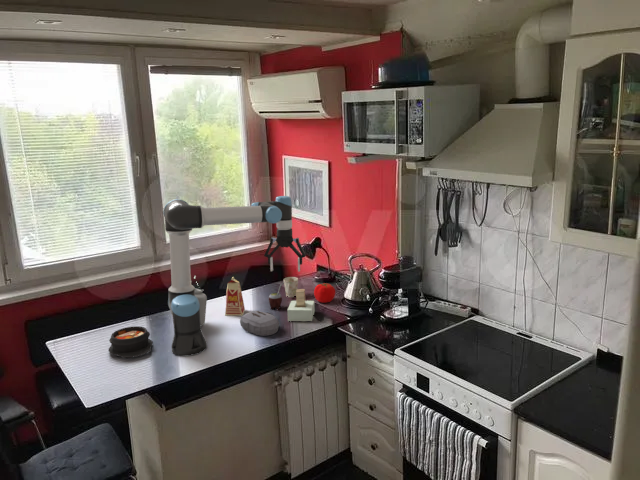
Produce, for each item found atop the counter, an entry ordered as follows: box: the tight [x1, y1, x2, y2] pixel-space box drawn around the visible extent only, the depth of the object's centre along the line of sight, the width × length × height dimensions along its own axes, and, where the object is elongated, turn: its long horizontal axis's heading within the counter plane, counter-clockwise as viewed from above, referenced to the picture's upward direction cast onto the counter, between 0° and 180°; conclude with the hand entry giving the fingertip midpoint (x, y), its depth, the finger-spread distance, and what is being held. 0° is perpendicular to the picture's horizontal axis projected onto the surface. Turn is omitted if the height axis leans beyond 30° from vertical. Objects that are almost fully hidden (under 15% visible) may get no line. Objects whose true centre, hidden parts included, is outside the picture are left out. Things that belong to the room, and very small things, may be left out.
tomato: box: [313, 282, 336, 303], centre depth 283 cm, size 12×12×10 cm
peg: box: [295, 288, 306, 307], centre depth 262 cm, size 4×4×14 cm
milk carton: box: [224, 276, 246, 317], centre depth 269 cm, size 9×9×20 cm
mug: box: [283, 276, 299, 298], centre depth 292 cm, size 8×13×10 cm, turn 174°
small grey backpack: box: [239, 310, 280, 337], centre depth 247 cm, size 15×8×20 cm
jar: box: [169, 276, 208, 326], centre depth 252 cm, size 19×15×25 cm
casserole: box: [108, 325, 154, 359], centre depth 228 cm, size 25×19×8 cm
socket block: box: [286, 300, 316, 322], centre depth 262 cm, size 14×12×6 cm
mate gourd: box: [268, 281, 285, 310], centre depth 275 cm, size 8×8×15 cm
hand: (285, 270), depth 253 cm, fingers open, 13 cm apart
